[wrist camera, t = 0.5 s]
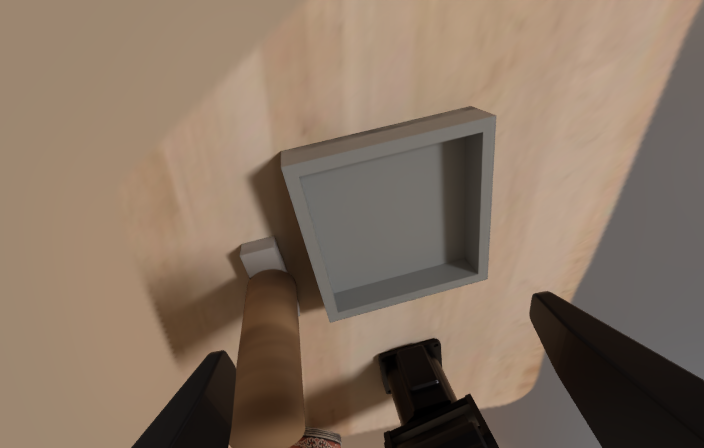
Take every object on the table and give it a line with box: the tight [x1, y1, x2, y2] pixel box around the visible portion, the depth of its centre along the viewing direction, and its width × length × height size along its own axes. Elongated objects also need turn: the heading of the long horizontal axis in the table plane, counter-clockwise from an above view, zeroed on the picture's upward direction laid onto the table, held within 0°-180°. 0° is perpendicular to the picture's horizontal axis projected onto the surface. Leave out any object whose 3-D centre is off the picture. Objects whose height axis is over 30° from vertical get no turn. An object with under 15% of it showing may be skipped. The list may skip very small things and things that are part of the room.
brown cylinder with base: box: [229, 236, 305, 448], centre depth 21 cm, size 7×4×12 cm, turn 10°
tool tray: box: [281, 106, 496, 323], centre depth 24 cm, size 13×13×3 cm
